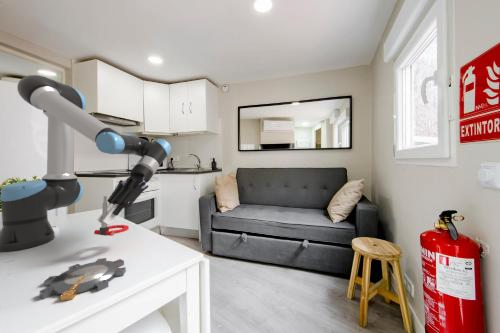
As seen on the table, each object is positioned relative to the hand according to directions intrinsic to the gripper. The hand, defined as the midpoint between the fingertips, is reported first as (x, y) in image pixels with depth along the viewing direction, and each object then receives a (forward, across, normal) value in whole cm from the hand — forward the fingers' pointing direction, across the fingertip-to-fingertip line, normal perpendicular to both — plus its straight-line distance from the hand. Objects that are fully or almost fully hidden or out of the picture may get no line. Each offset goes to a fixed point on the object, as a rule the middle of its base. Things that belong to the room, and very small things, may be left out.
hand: (103, 222), depth 68 cm
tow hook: (0, +1, -6) cm, 6 cm away
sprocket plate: (+15, -10, 0) cm, 18 cm away
